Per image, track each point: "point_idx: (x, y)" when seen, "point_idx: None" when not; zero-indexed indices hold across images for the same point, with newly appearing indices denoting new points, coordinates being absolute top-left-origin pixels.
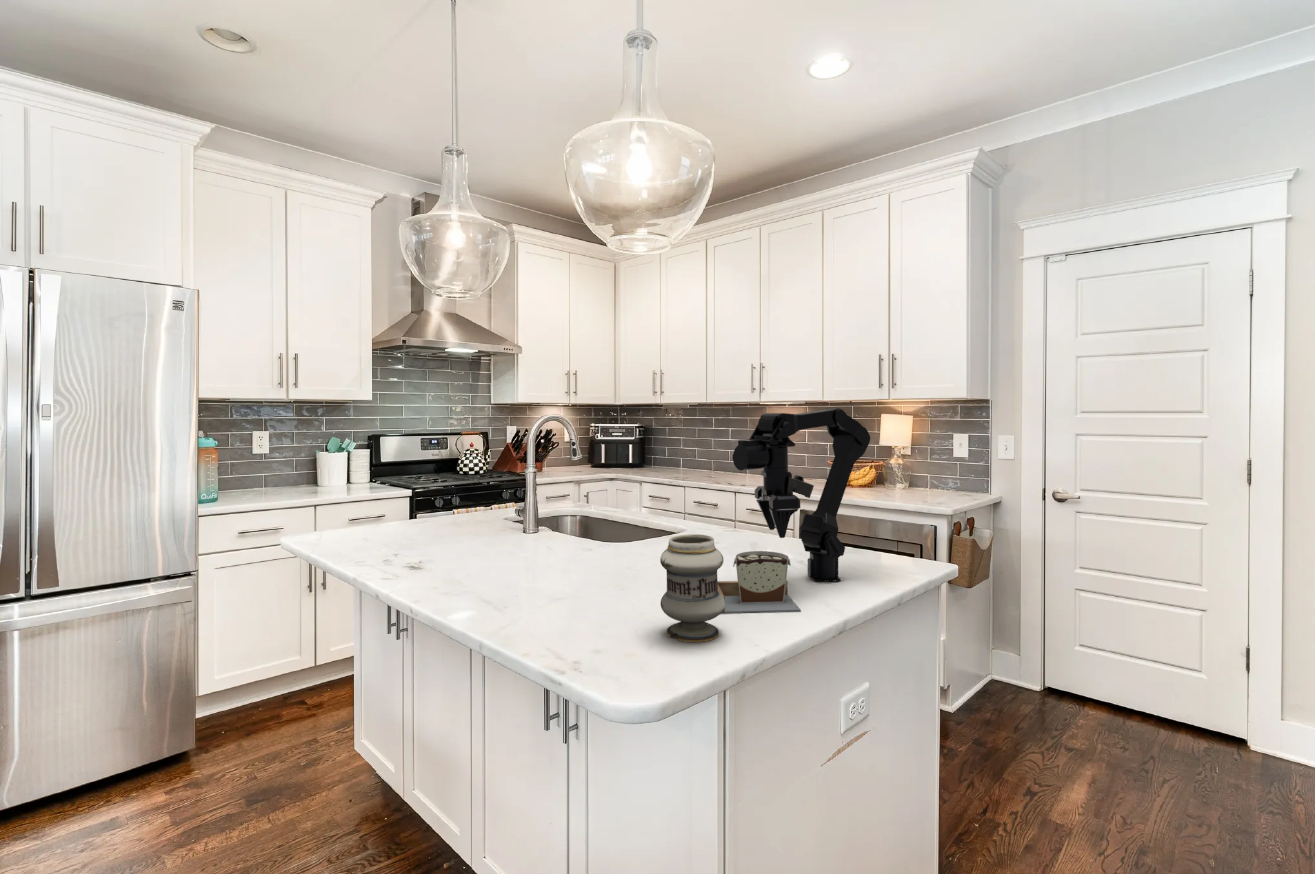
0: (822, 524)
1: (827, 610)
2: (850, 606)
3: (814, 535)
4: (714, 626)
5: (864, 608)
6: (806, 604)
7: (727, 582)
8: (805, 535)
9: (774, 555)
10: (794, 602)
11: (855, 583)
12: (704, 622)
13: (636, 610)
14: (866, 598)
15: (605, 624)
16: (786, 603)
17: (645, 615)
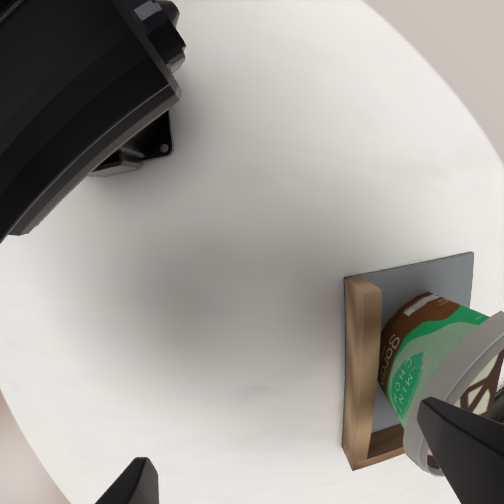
0: (117, 10)
1: (465, 182)
2: (436, 109)
3: (118, 123)
4: (501, 395)
5: (444, 82)
6: (427, 227)
7: (368, 444)
8: (52, 196)
9: (458, 384)
10: (429, 262)
11: (185, 21)
12: (499, 410)
13: (393, 499)
14: (362, 37)
15: (432, 496)
16: (434, 285)
17: (417, 483)
